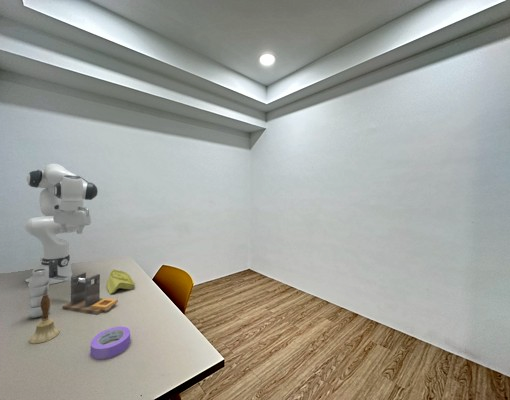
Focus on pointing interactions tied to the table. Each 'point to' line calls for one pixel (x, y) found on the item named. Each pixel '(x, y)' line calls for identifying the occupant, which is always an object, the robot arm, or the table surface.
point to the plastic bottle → (37, 292)
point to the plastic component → (119, 281)
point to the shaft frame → (84, 295)
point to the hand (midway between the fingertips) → (72, 232)
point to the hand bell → (44, 324)
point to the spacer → (105, 300)
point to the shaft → (54, 272)
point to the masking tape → (114, 348)
